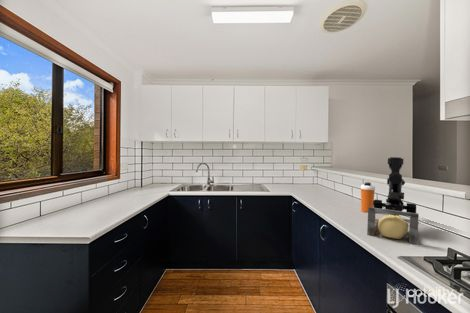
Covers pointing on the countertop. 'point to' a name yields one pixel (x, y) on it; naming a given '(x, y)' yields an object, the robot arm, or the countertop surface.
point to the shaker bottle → (367, 196)
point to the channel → (413, 216)
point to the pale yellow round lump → (393, 226)
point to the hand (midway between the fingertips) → (392, 220)
